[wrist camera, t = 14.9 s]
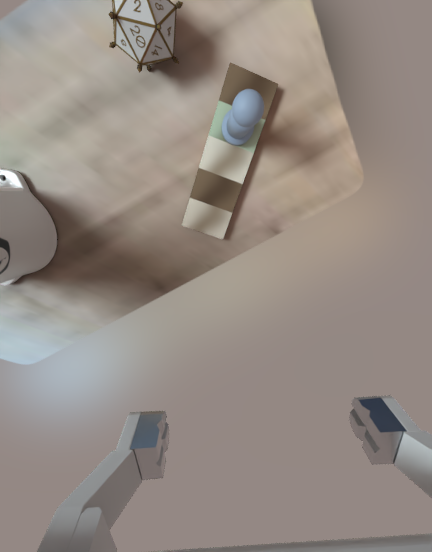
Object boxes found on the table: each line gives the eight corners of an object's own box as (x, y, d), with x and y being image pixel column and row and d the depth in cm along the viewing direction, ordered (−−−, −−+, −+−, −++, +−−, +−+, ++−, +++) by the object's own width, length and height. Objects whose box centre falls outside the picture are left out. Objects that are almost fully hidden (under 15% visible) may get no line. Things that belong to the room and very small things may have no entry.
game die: (170, 62, 37) (201, 72, 31) (113, 75, 34) (135, 88, 28) (152, -35, 30) (189, -47, 24) (81, -27, 28) (101, -38, 22)
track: (182, 224, 41) (181, 225, 40) (229, 66, 34) (230, 62, 33) (222, 238, 42) (222, 239, 41) (275, 87, 35) (278, 84, 34)
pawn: (217, 139, 36) (222, 119, 25) (227, 105, 34) (238, 69, 24) (245, 150, 36) (262, 135, 26) (256, 117, 35) (279, 88, 25)
